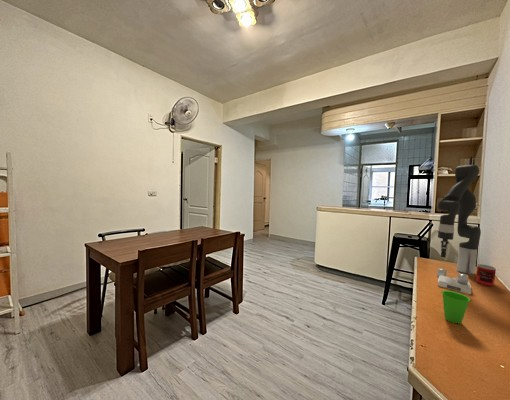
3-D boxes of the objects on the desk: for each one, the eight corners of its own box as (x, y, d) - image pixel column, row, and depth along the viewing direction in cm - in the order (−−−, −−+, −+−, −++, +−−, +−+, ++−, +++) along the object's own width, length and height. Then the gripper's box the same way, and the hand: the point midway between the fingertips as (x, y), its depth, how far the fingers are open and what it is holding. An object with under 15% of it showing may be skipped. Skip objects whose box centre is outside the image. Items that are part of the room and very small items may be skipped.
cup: (460, 317, 95) (462, 292, 94) (473, 329, 86) (476, 302, 85) (435, 312, 97) (437, 288, 97) (445, 324, 89) (447, 298, 88)
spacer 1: (437, 275, 145) (437, 267, 144) (445, 277, 142) (446, 269, 142) (436, 276, 142) (437, 269, 141) (445, 278, 139) (446, 271, 138)
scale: (438, 279, 138) (439, 274, 137) (469, 286, 128) (470, 281, 128) (437, 285, 127) (437, 280, 127) (471, 294, 117) (471, 289, 117)
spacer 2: (456, 280, 128) (457, 272, 128) (467, 283, 125) (468, 274, 125) (457, 283, 125) (458, 274, 125) (467, 285, 122) (468, 276, 122)
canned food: (485, 281, 137) (487, 264, 137) (498, 287, 129) (500, 269, 129) (472, 280, 138) (473, 263, 137) (483, 286, 130) (485, 268, 129)
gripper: (439, 229, 148) (436, 252, 149) (437, 231, 137) (435, 256, 138) (453, 231, 143) (451, 255, 144) (453, 233, 132) (450, 259, 133)
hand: (443, 256), depth 141 cm, fingers open, 8 cm apart
